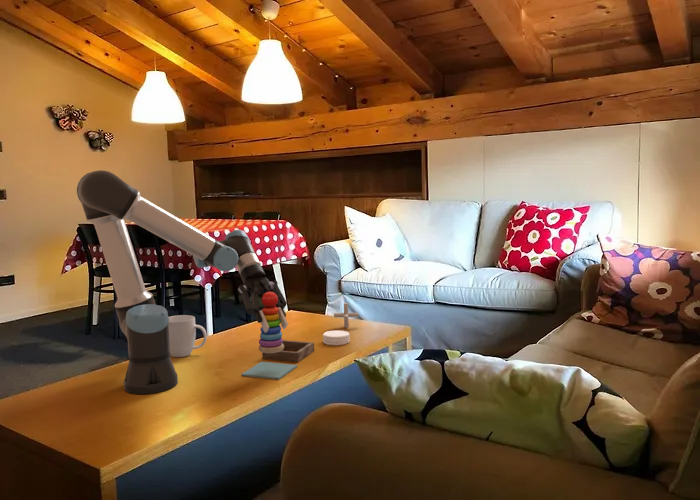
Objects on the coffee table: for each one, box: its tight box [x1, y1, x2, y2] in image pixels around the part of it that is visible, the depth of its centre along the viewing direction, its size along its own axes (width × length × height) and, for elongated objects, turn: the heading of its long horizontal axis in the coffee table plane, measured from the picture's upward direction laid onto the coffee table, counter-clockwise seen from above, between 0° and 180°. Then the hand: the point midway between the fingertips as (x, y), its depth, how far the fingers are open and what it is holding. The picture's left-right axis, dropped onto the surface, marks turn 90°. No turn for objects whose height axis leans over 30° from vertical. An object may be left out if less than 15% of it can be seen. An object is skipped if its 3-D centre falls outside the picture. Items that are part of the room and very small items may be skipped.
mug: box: [168, 314, 208, 358], centre depth 204 cm, size 15×11×13 cm
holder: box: [261, 339, 315, 363], centre depth 201 cm, size 13×13×3 cm
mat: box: [241, 361, 298, 380], centre depth 184 cm, size 13×13×1 cm
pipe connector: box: [333, 302, 359, 329], centre depth 238 cm, size 10×10×10 cm
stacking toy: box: [258, 291, 285, 353], centre depth 183 cm, size 8×8×19 cm
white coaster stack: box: [322, 329, 351, 346], centre depth 217 cm, size 10×10×4 cm
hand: (276, 328), depth 180 cm, fingers closed on stacking toy, 6 cm apart
